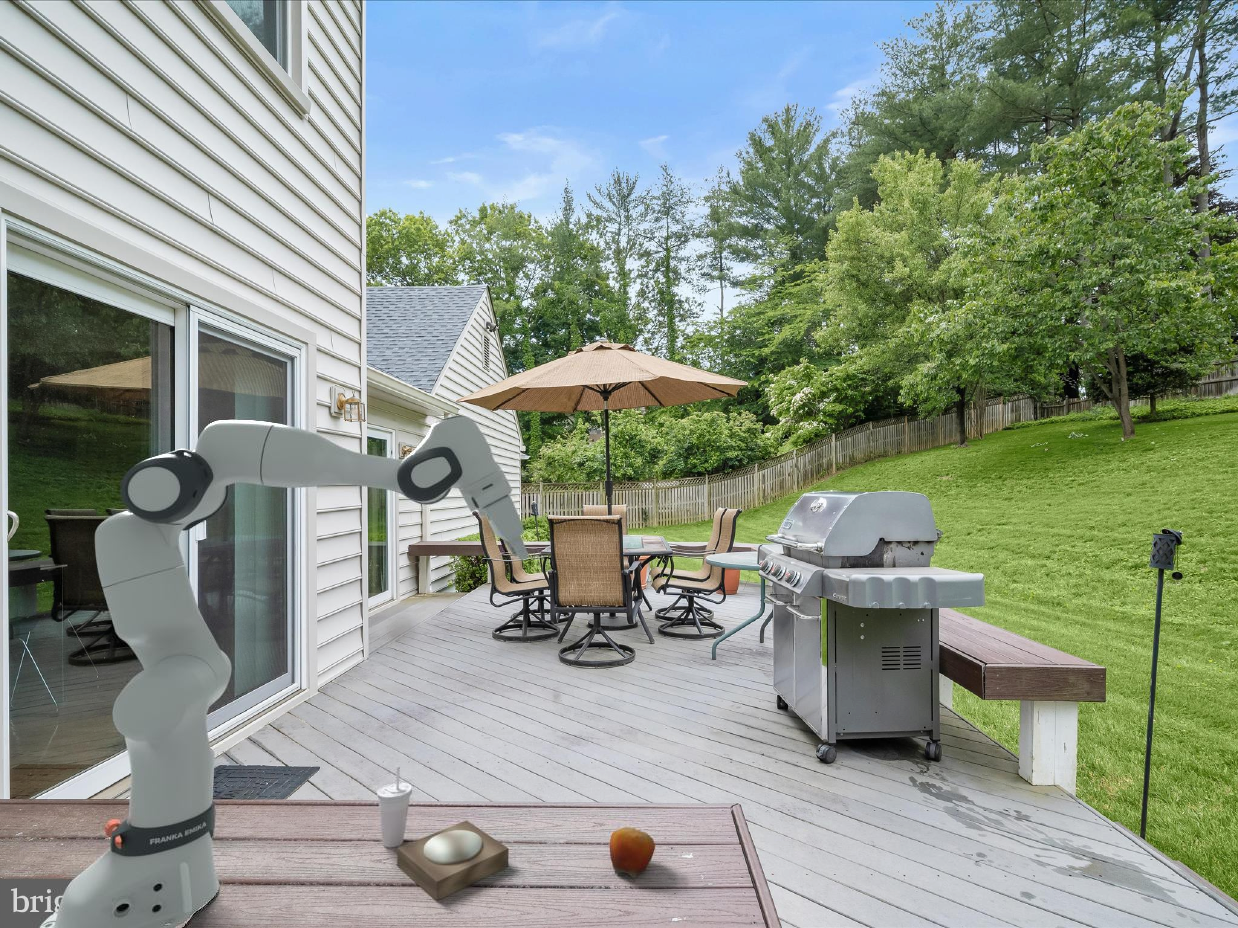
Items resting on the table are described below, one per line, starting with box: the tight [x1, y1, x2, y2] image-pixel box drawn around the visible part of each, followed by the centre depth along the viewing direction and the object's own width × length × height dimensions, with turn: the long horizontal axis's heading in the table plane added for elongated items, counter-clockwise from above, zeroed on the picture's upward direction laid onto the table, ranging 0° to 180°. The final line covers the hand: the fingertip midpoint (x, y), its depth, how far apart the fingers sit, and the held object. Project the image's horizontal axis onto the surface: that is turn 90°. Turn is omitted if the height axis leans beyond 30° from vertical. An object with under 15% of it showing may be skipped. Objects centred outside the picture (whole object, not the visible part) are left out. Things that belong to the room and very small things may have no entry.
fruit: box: [609, 826, 656, 882], centre depth 108 cm, size 8×8×8 cm
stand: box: [396, 820, 510, 902], centre depth 109 cm, size 14×14×4 cm
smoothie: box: [376, 765, 413, 848], centre depth 118 cm, size 6×6×14 cm
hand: (521, 556), depth 119 cm, fingers open, 8 cm apart
